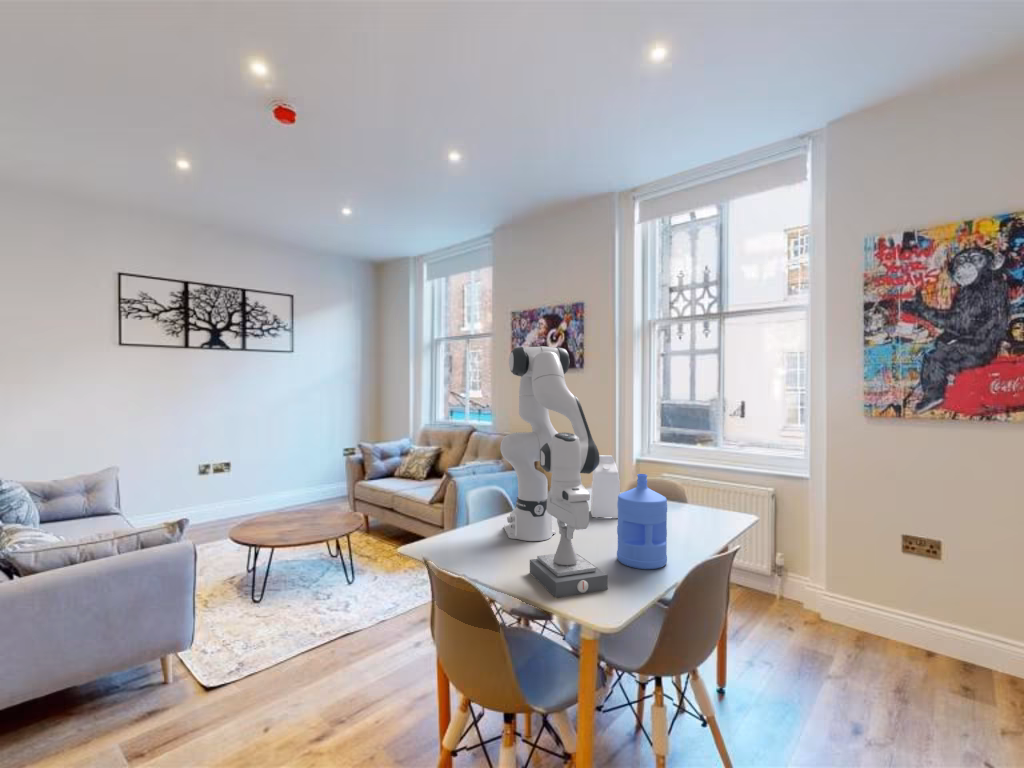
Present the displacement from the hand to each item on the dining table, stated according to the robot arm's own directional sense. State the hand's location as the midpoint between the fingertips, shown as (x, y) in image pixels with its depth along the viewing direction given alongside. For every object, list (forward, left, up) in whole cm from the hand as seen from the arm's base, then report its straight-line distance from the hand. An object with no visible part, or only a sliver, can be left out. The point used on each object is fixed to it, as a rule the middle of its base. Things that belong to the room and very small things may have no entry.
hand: (565, 536), depth 141 cm
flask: (0, 0, -8) cm, 8 cm away
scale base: (+1, 0, -13) cm, 13 cm away
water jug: (-5, +30, -13) cm, 33 cm away
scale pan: (0, 0, -8) cm, 8 cm away
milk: (-58, +49, -13) cm, 77 cm away
